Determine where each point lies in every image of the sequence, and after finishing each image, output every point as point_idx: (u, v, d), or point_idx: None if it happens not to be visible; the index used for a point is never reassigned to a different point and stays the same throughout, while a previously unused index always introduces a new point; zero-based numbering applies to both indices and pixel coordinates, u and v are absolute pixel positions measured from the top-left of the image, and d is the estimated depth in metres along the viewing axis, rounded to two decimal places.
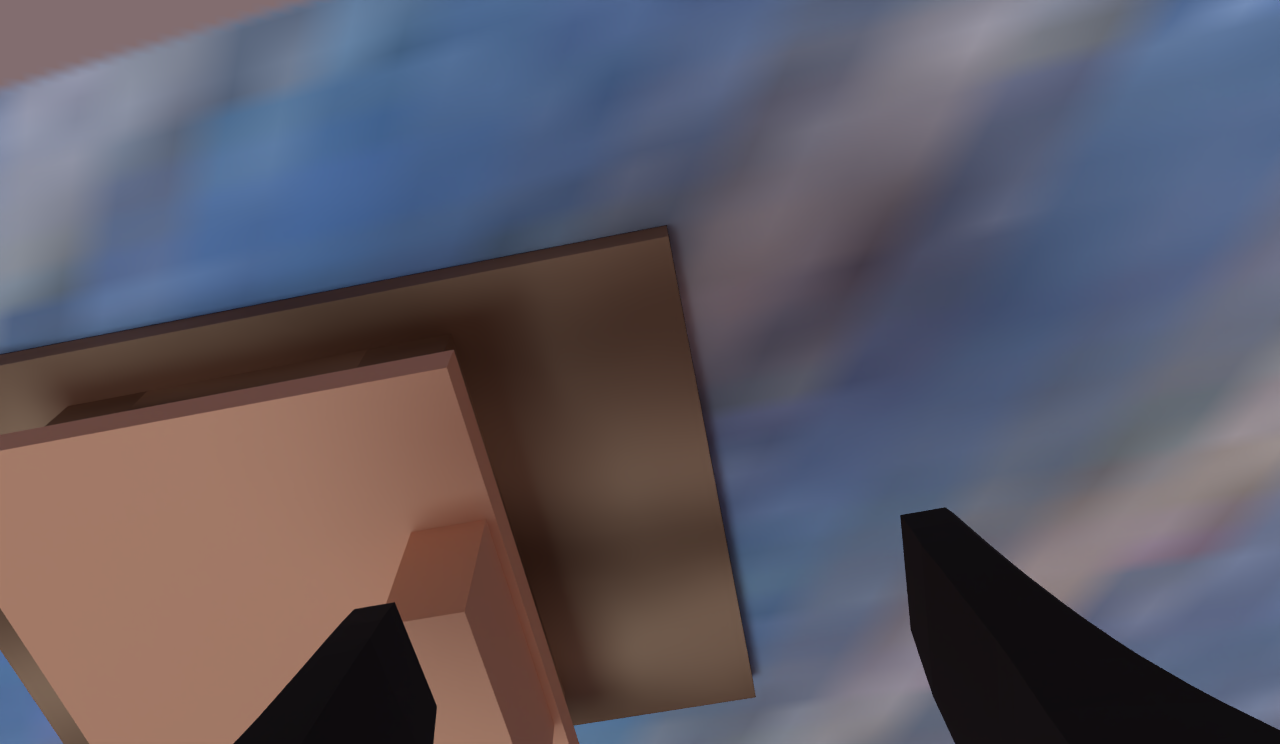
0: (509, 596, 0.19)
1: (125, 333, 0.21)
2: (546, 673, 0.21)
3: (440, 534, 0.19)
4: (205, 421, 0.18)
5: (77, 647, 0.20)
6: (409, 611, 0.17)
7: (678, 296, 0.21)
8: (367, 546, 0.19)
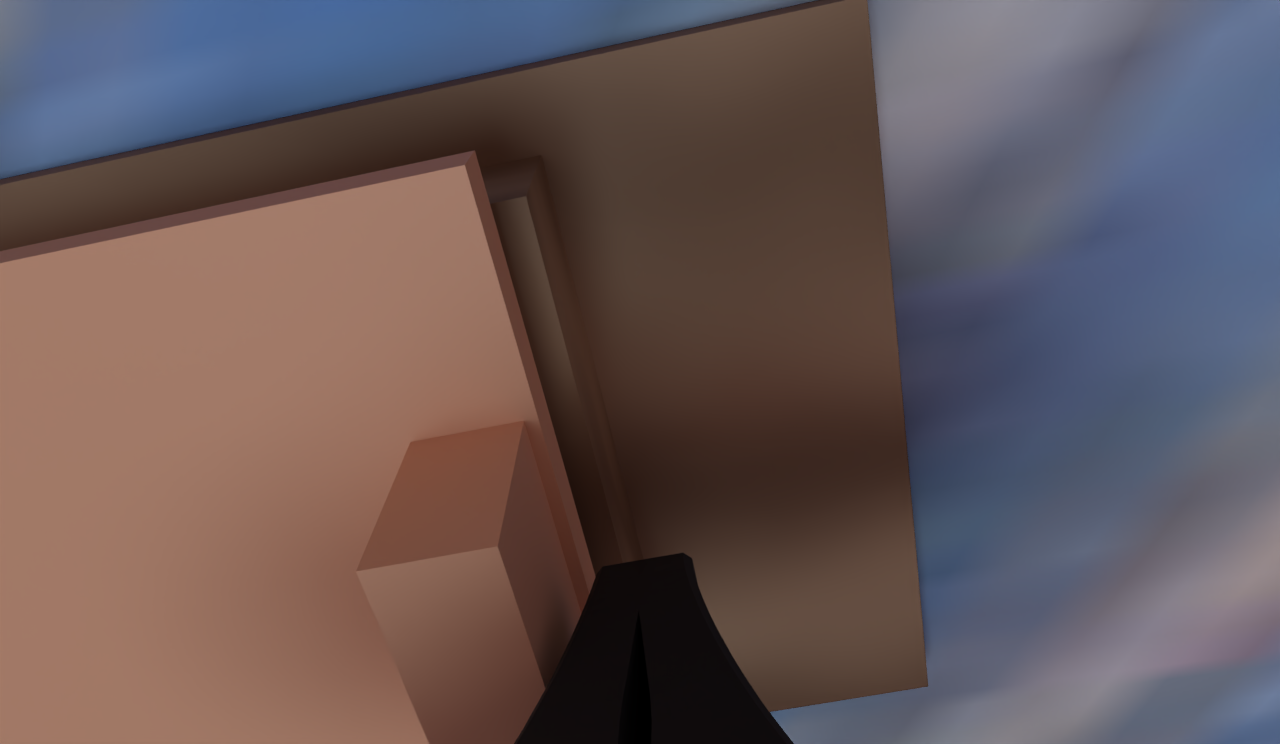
0: (557, 541, 0.13)
1: (74, 164, 0.15)
2: None
3: (454, 443, 0.12)
4: (88, 260, 0.11)
5: None
6: (407, 548, 0.10)
7: (873, 94, 0.14)
8: (345, 465, 0.13)
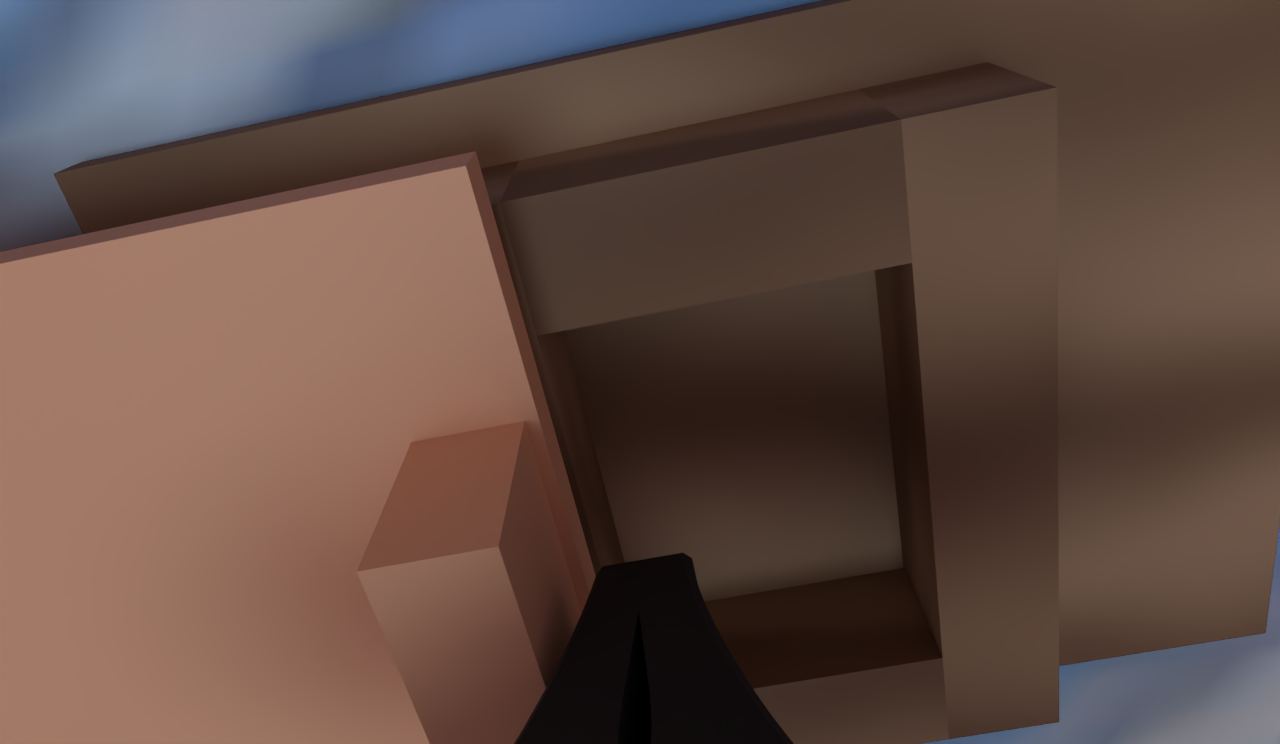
0: (558, 542, 0.13)
1: (487, 75, 0.14)
2: None
3: (455, 443, 0.12)
4: (89, 260, 0.11)
5: None
6: (407, 548, 0.10)
7: None
8: (346, 465, 0.13)
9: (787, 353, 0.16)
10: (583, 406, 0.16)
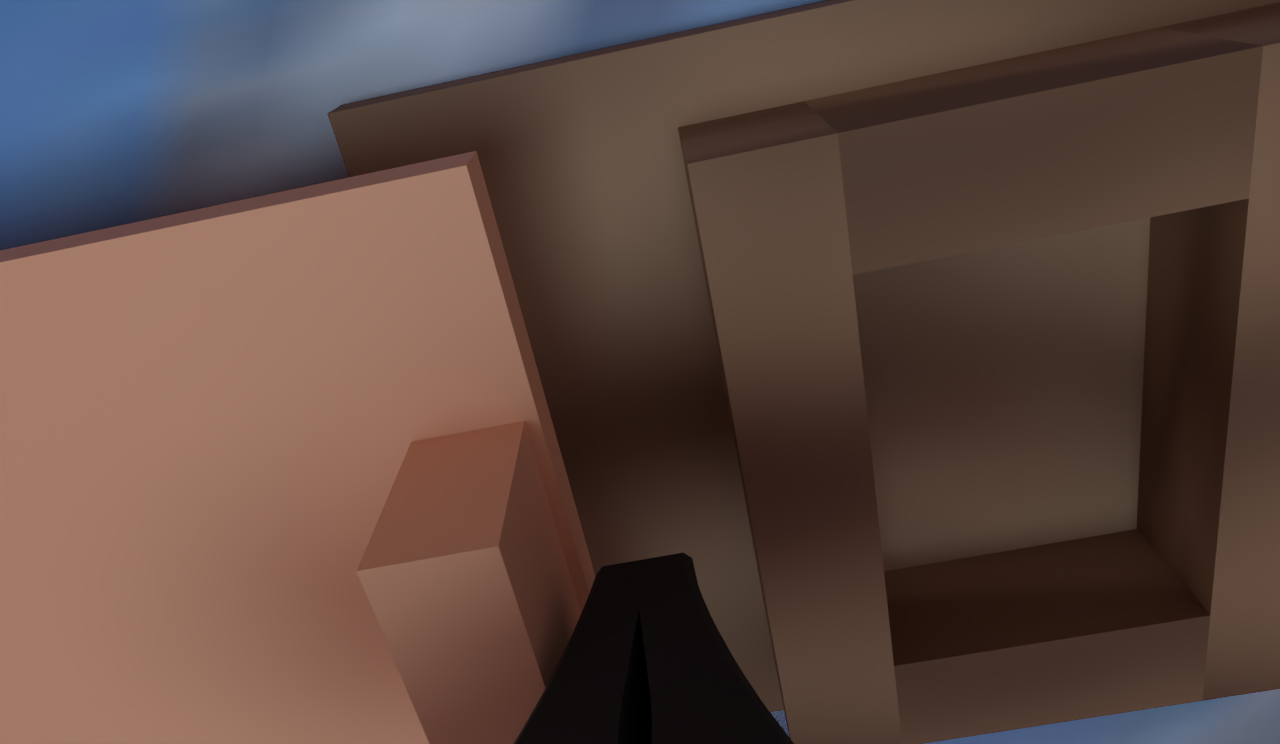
0: (557, 541, 0.13)
1: (771, 13, 0.14)
2: None
3: (455, 443, 0.12)
4: (90, 259, 0.11)
5: None
6: (407, 548, 0.10)
7: None
8: (345, 465, 0.13)
9: (1049, 304, 0.16)
10: None
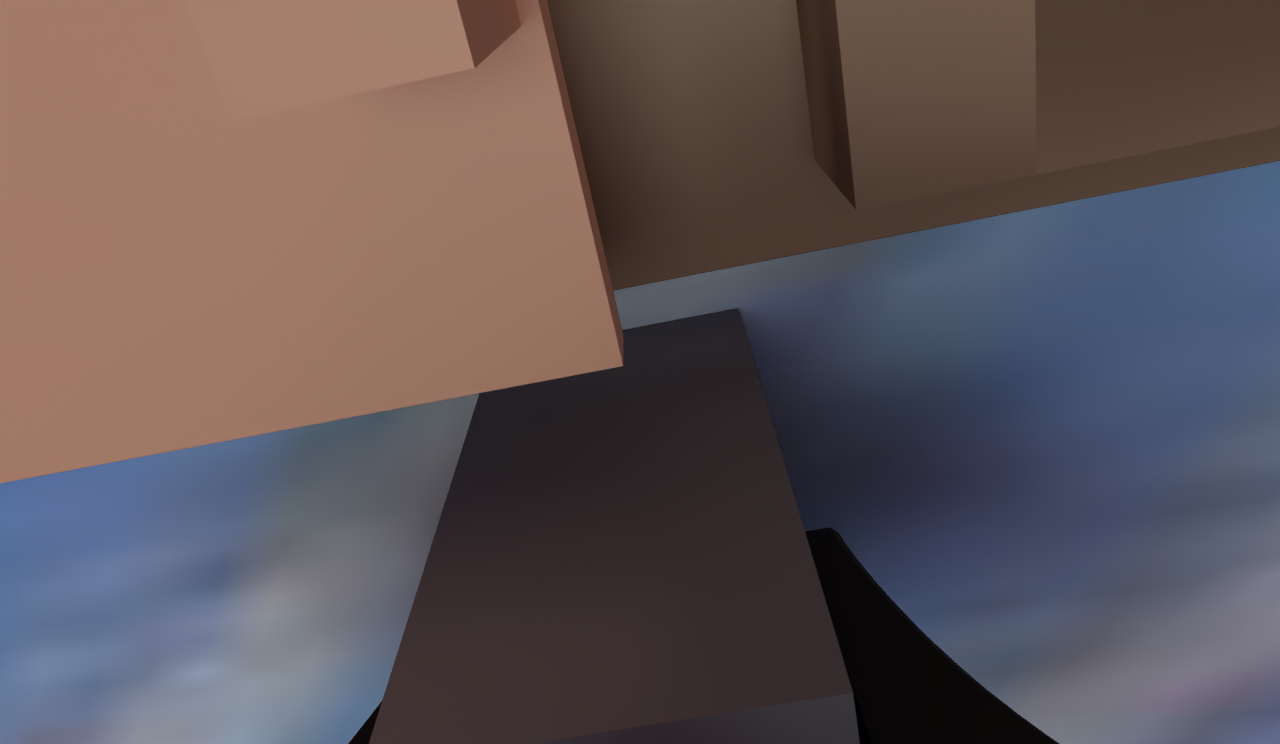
0: None
1: None
2: None
3: None
4: None
5: None
6: None
7: None
8: None
9: None
10: None
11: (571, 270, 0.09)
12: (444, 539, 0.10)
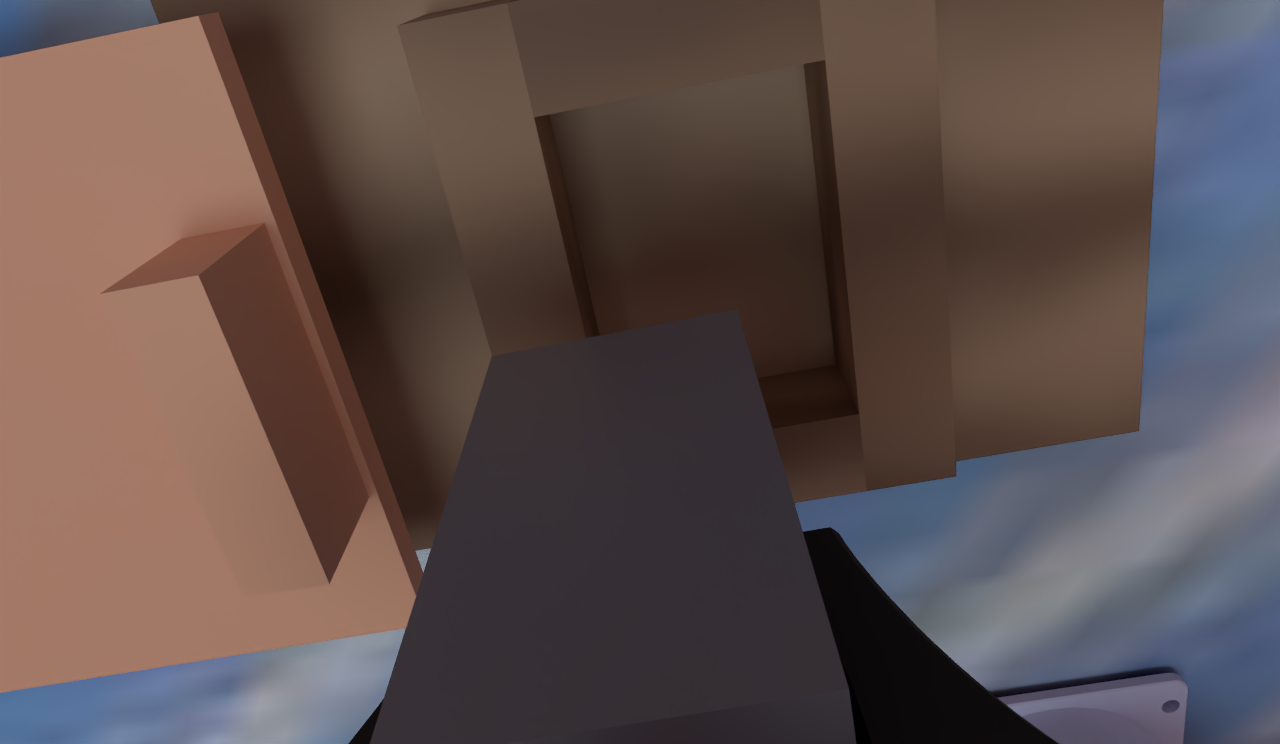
0: (299, 323, 0.17)
1: None
2: (354, 429, 0.18)
3: (209, 237, 0.16)
4: None
5: None
6: (140, 282, 0.14)
7: None
8: (132, 257, 0.17)
9: (737, 167, 0.20)
10: (570, 212, 0.20)
11: (398, 586, 0.20)
12: (445, 538, 0.10)
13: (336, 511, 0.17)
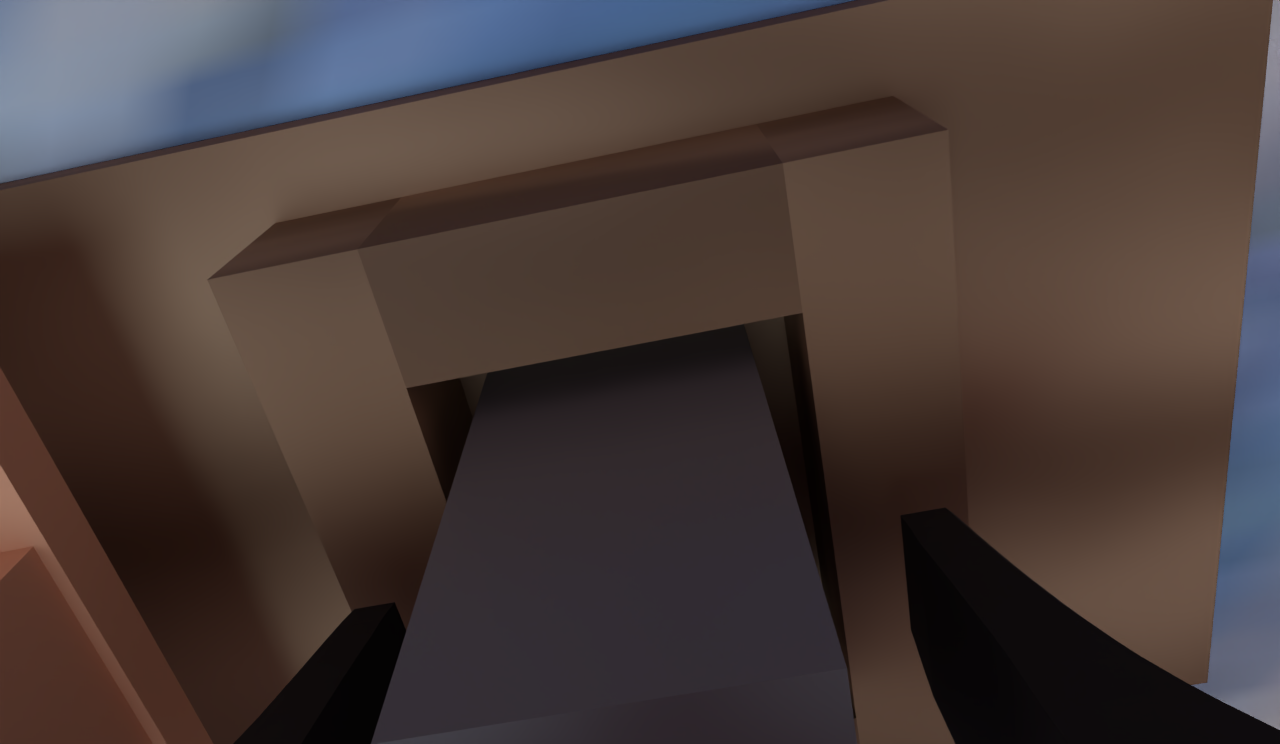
0: (95, 664, 0.13)
1: (367, 107, 0.14)
2: None
3: None
4: None
5: None
6: None
7: (1266, 29, 0.13)
8: None
9: None
10: None
11: None
12: (450, 525, 0.10)
13: None
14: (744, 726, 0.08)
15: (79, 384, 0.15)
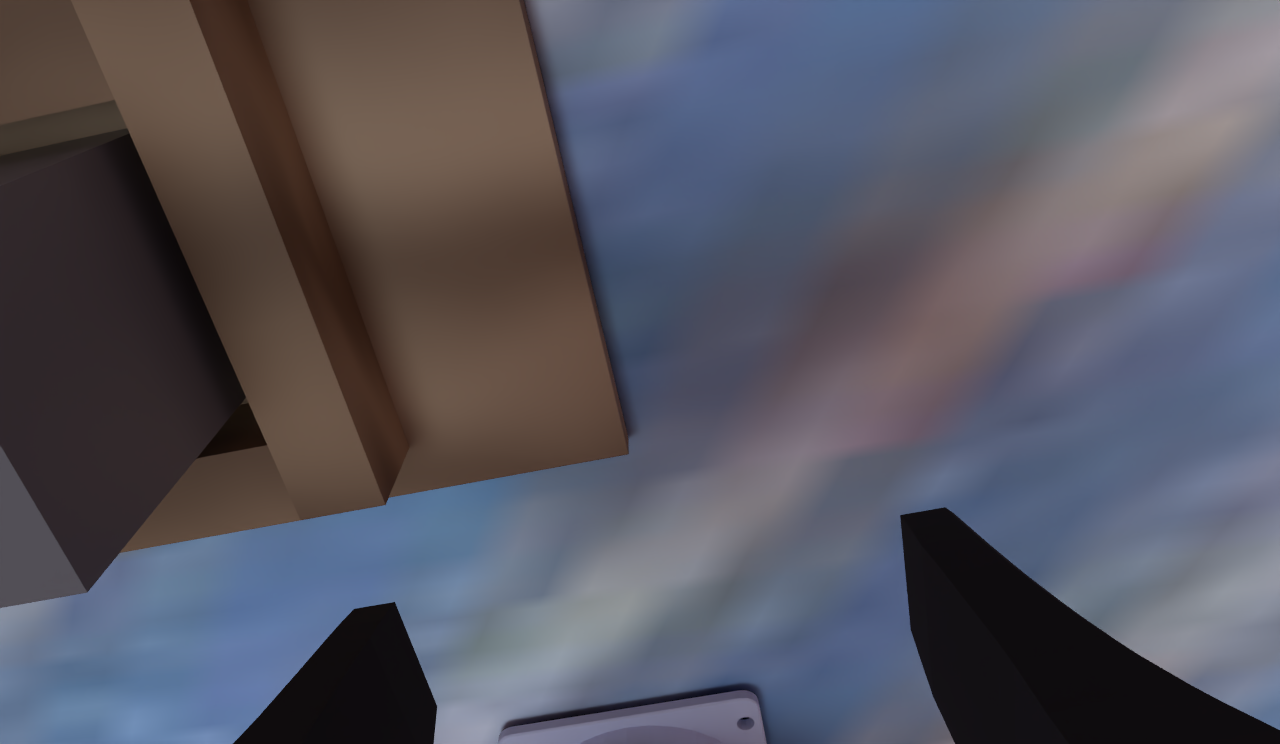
0: None
1: None
2: None
3: None
4: None
5: None
6: None
7: None
8: None
9: None
10: None
11: None
12: None
13: None
14: None
15: None
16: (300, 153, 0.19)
